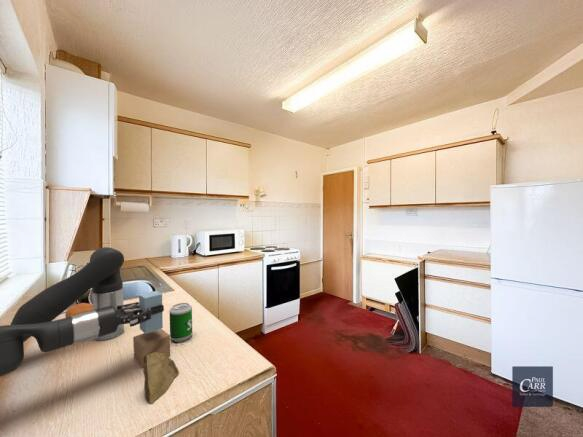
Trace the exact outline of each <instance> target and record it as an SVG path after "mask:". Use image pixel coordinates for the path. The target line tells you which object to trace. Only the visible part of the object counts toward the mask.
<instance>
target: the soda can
mask: <svg viewBox="0 0 583 437" xmlns="http://www.w3.org/2000/svg"><path fill="white" fill-rule="evenodd" d="M168 313H169V335H170V340H172V342H174V343H181V342H184V341H187V340H189V339H190V338H191V337H192V335H193V307H192V305H191V304H190V303H188V302H180V303H176V304H174V305H172V306H171V308H170V309H169V312H168Z"/></svg>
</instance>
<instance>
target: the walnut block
mask: <svg viewBox="0 0 583 437" xmlns="http://www.w3.org/2000/svg"><path fill="white" fill-rule="evenodd" d="M132 341H133V342H132V343H133V359H134V360H135V362H137V363H138V366H140V367H141V369H143V357H144V356H146V355H149V354H151V353H154V352H158V353H166V354H167V356H168V357H169V358H170V357H171V338H170V333H168V332H166V331H165V330H164V329H163V328H161V329H158V330H155V331H152V332H149V333H147V334H145V333H144V332H143V333H141V334H137V335H134V336H132Z"/></svg>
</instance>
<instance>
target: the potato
mask: <svg viewBox="0 0 583 437" xmlns="http://www.w3.org/2000/svg"><path fill="white" fill-rule="evenodd" d="M92 310H93V304H92V303H88V302H87V303H86V302H81V303H77V304H72V305H71V306H70V307H68V308H67V309H66V310H65V315H64V316H65V317H64V318H67V317H71V316H75V315H77V314H80V313H84V312H88V311H92Z"/></svg>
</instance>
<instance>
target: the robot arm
mask: <svg viewBox="0 0 583 437" xmlns="http://www.w3.org/2000/svg"><path fill="white" fill-rule="evenodd" d="M89 258H90V259H89V262H88V263H87V264H86V265H84V266H83V267H82V268H81V269H80V270H78V271H77V272H76V273H74V274H72V275H70V276H69V277H66V278H65V279H63V280H60V281H59V282H56V283H55V284H52V285H51V286H49V287H46V288H45V289H44V290H42V291H41V292H39V293H37V294H36V295H34V296H33V297H32V298H30V299H29V300H28V301H26V302H25V303H23V304H22V305H21V306H20V307H19V308H18V309H17V311H16V312H15V314H14V316H13V318H12V321H11V322H10V324H4V325H0V377H3V376H6V375H7V374H10V373H12V372H13V371H15V370H17V368H19V367H20V366H21V364H22V363H23V361H24V358H25V350H24V349H25V347H24V346H25V345H24V343H25V342H26V341H27V340H28V339H30V338H31V337H33V338H34V339H35V341H36V342H37V345H38V348H39V349H40V351H41V352H42V353H50V352H53V351H56V350H59V349H64V348H66V347H69V346H73V345H76V344H81V343H85V342H89V341H91V340H96V341H107V340H111V339H114V338H117V337H119V336H121V335H122V334H123V333H124V332H125V325H128V324H129V327H134V326H137V325H140V323H142V322H145V321H147V320H150V319H151V315H154V314H157V313H161V312H162V313H164V310H165V308H164V307H165V306H164V305H163V304H162V305H158V306H155V307H151V308H147V309H142V308H139V301H136V302H132V303H126V304H124V287H123V285H124V284H123V280H122V277H121V268H122V266H123V265H124V262H125V256H124V254H123V253H122V252H121V250H118V249H115V248H113V247H109V246H106V247H100V248H98V249H96V250H94V251H93V253H92V254H91V255H90V257H89ZM90 290H91V292H92V293H91V294H92V297H91V298H92V305H93V310H92V311H88V312H84V313H80V314H77V315H75V316H71V317H67V318H66V317H64V318H61V319H60V318H59V319H56V318H57V317H58V316H60V315H61V314H63V313H64V312H66V311H67V310H68V308H70V307H71V306H73V305H74V303H75V302H77V301H78V300H80V299H81V298H82V297H83V296H84V295H85V294H86V293H88V292H89V291H90Z"/></svg>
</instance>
